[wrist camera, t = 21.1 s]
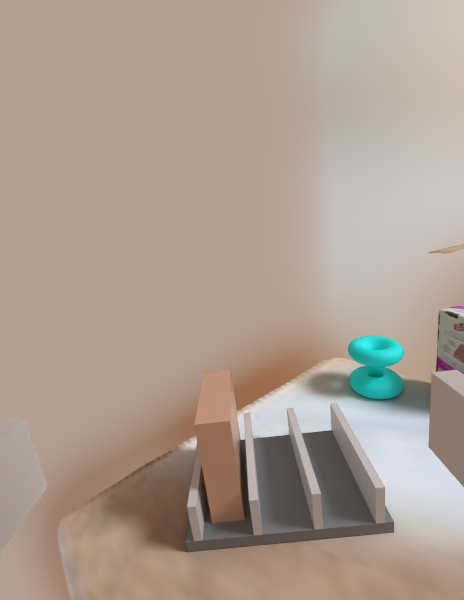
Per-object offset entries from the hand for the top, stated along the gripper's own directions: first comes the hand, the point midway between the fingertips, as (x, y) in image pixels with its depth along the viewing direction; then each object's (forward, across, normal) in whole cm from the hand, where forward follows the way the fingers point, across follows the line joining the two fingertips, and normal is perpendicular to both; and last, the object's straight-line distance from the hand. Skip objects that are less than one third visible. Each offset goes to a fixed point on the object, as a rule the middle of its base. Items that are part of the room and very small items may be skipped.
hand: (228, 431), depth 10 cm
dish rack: (+27, +3, -30) cm, 40 cm away
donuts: (+48, +26, -30) cm, 62 cm away
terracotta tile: (+27, -4, -28) cm, 39 cm away
